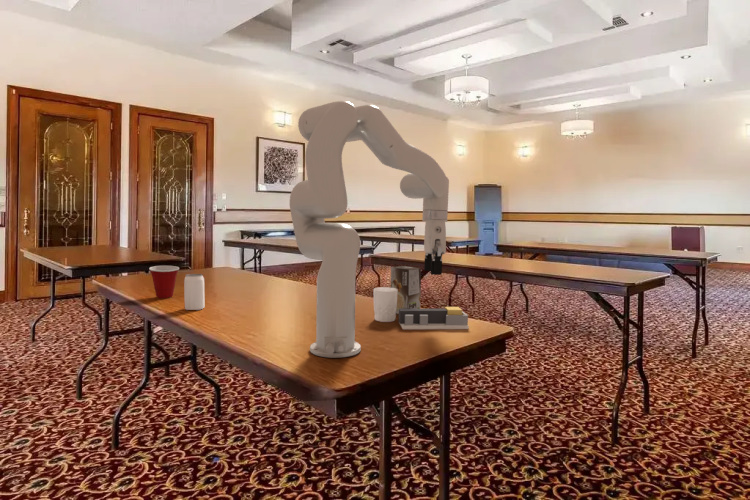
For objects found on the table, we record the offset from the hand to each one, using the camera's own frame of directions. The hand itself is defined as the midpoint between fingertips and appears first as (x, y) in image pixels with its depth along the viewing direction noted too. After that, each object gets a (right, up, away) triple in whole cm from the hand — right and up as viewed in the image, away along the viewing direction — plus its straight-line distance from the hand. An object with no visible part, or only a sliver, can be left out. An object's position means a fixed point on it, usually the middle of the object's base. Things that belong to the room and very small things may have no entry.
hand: (432, 272), depth 138 cm
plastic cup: (-100, -12, +40) cm, 109 cm away
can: (-81, -14, +20) cm, 84 cm away
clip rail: (0, -16, +2) cm, 17 cm away
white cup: (-14, -16, +8) cm, 23 cm away
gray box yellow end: (-1, -15, +1) cm, 16 cm away
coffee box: (-7, -15, +18) cm, 25 cm away
